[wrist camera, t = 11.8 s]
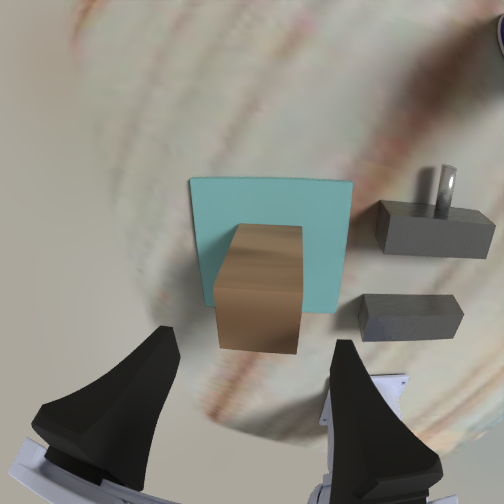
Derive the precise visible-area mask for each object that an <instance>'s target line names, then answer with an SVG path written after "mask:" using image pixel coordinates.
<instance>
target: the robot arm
mask: <svg viewBox="0 0 504 504" xmlns="http://www.w3.org/2000/svg"><path fill="white" fill-rule="evenodd" d="M180 358H181V357H180V353H179V349H178V346H177V342H176V338H175V334H174V331H173V327H168V326H159V327H158V328H157V329H156V330H155V331H154V332H153V333H152V334H151V335H150V336H149V337H148V338H147V339H146V340H145V341H144V342H143V343H142V344H141V345H139V346H138V347H137V348H136V349H135V350H134V351H133V352H132V353H131V354H130V355H128V356H127V357H126V358H125V359H124V360H123V361H121V362H120V363H119V364H118V365H117V366H116V367H114V368H113V369H112V370H110V371H109V372H108V373H106V374H105V375H103V376H102V377H100V378H99V379H97V380H96V381H94V382H92V383H91V384H89V385H87V386H86V387H84V388H82V389H80V390H78V391H76V392H74V393H72V394H70V395H68V396H65V397H63V398H61V399H58V400H55V401H52V402H49V403H47V404H43V405H42V406H41V408H40V410H39V411H38V413H37V415H36V416H35V418H34V420H33V421H32V423H31V424H32V428H33V429H34V430H35V431H36V433H37V434H38V435H40V437H41V438H42V439H44V440H45V441H46V442H47V443H48V444H49V445H50V446H49V448H48V449H46V448H45V447H43V446H42V445H40V444H38V443H37V442H35V441H33V440H32V439H30V438H28V437H27V438H26V439H25V441H24V443H23V445H22V447H21V449H20V450H19V452H18V454H17V456H16V458H15V460H14V462H13V464H12V466H11V468H10V470H9V471H8V473H9V475H11V476H12V477H13V478H15V479H16V480H18V481H19V482H20V483H22V484H23V485H25V486H26V487H27V488H29V489H30V490H32V491H33V492H35V493H36V494H38V495H39V496H41V497H42V498H44V499H45V500H47V501H48V502H50V503H52V504H128V503H129V504H180V503H175V502H172V501H168V500H164V499H160V498H157V497H154V496H150V495H147V494H144V493H141V492H140V491H142V490H143V488H144V480H145V473H146V467H147V462H148V456H149V452H150V447H151V443H152V439H153V435H154V431H155V427H156V424H157V421H158V418H159V415H160V412H161V410H162V408H163V405H164V403H165V400H166V398H167V396H168V393H169V391H170V389H171V386H172V384H173V381H174V378H175V376H176V373H177V369H178V366H179V362H180ZM408 380H409V376H408V375H407V374H403V375H384V376H369V374H368V372H367V370H366V368H365V366H364V365H363V363H362V361H361V359H360V357H359V355H358V352H357V350H356V348H355V346H354V343H353V341H352V340H340V339H337V342H336V346H335V350H334V355H333V359H332V363H331V367H330V387H329V391H328V394H327V398H326V401H325V404H324V408H323V411H322V414H321V417H320V420H319V424H320V425H322V426H328V470H329V472H330V473H329V474H324V475H323V483H321V484H319V485H317V486H316V487H315V489H314V490H313V492H312V493H311V495H310V497H309V500H308V504H458V498H457V495H452V496H448V497H445V498H441V499H437V500H434V501H431V502H428V496H429V489H428V488H430V487H431V486H433V485H434V484H435V483H437V482H438V481H439V480H441V478H442V477H443V470H442V465H441V461H440V458H439V455H438V454H436V453H435V452H434V451H432V450H431V449H430V448H429V447H427V446H426V445H425V444H424V443H423V442H422V441H421V440H419V439H418V438H417V437H416V436H415V435H414V434H413V433H412V432H411V431H410V430H409V429H408V428H407V427H406V425H405V424H404V423H403V422H402V418H401V412H400V407H399V402H398V398H399V397H400V395H401V393H402V391H403V390H404V388H405V386H406V384H407V382H408Z"/></svg>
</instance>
